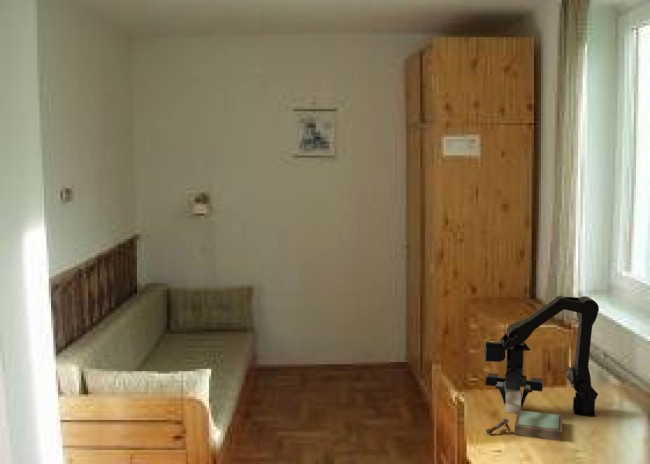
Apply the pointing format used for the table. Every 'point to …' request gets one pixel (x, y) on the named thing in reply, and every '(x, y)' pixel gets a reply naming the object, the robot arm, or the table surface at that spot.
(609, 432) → the table surface
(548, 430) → the brown and green tray
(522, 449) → the table surface
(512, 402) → the maple block
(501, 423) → the grey brown jointed piece
